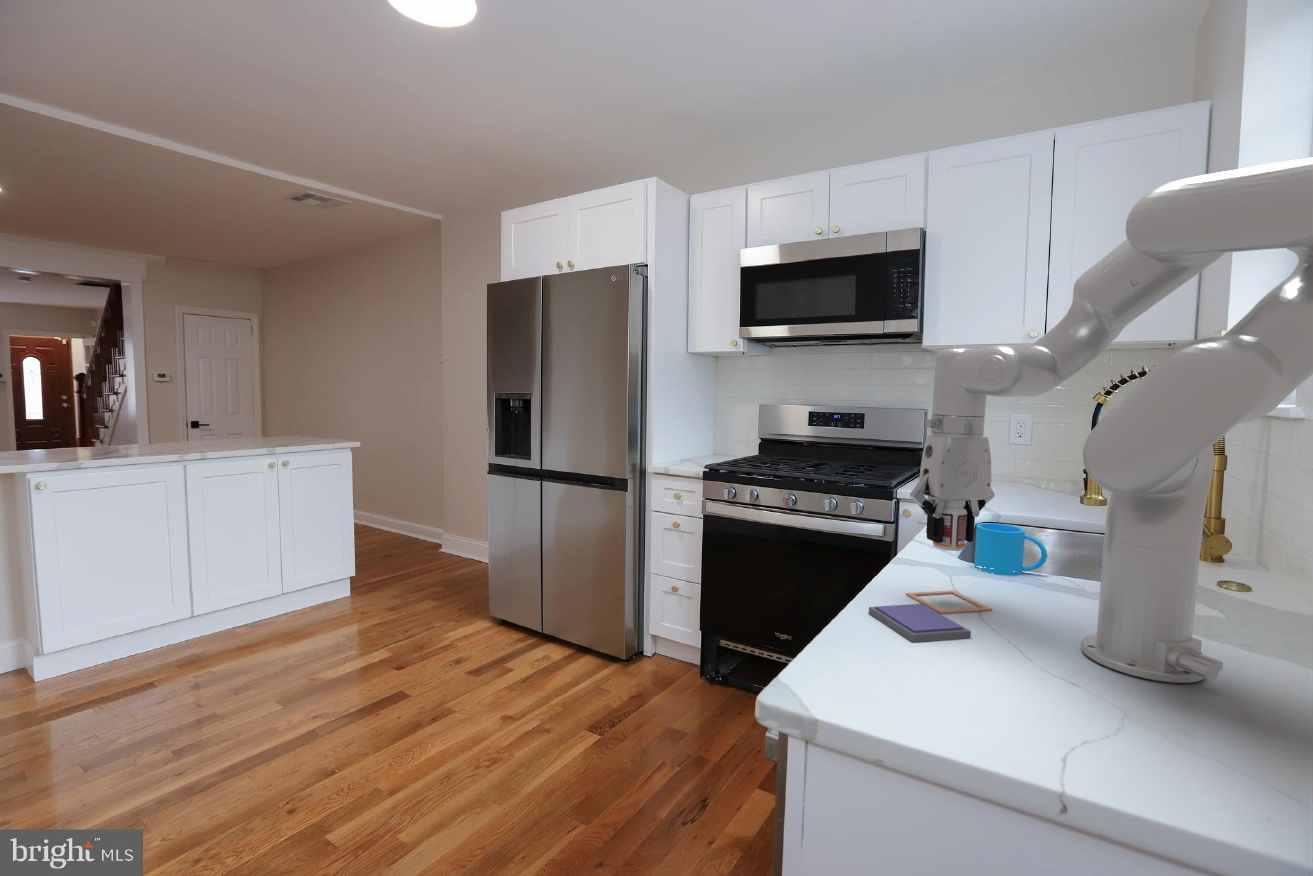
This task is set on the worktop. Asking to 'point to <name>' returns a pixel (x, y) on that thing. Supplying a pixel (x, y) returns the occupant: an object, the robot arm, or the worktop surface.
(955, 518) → the pill bottle
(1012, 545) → the mug
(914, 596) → the open rectangular frame
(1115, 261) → the robot arm
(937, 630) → the ink pad
